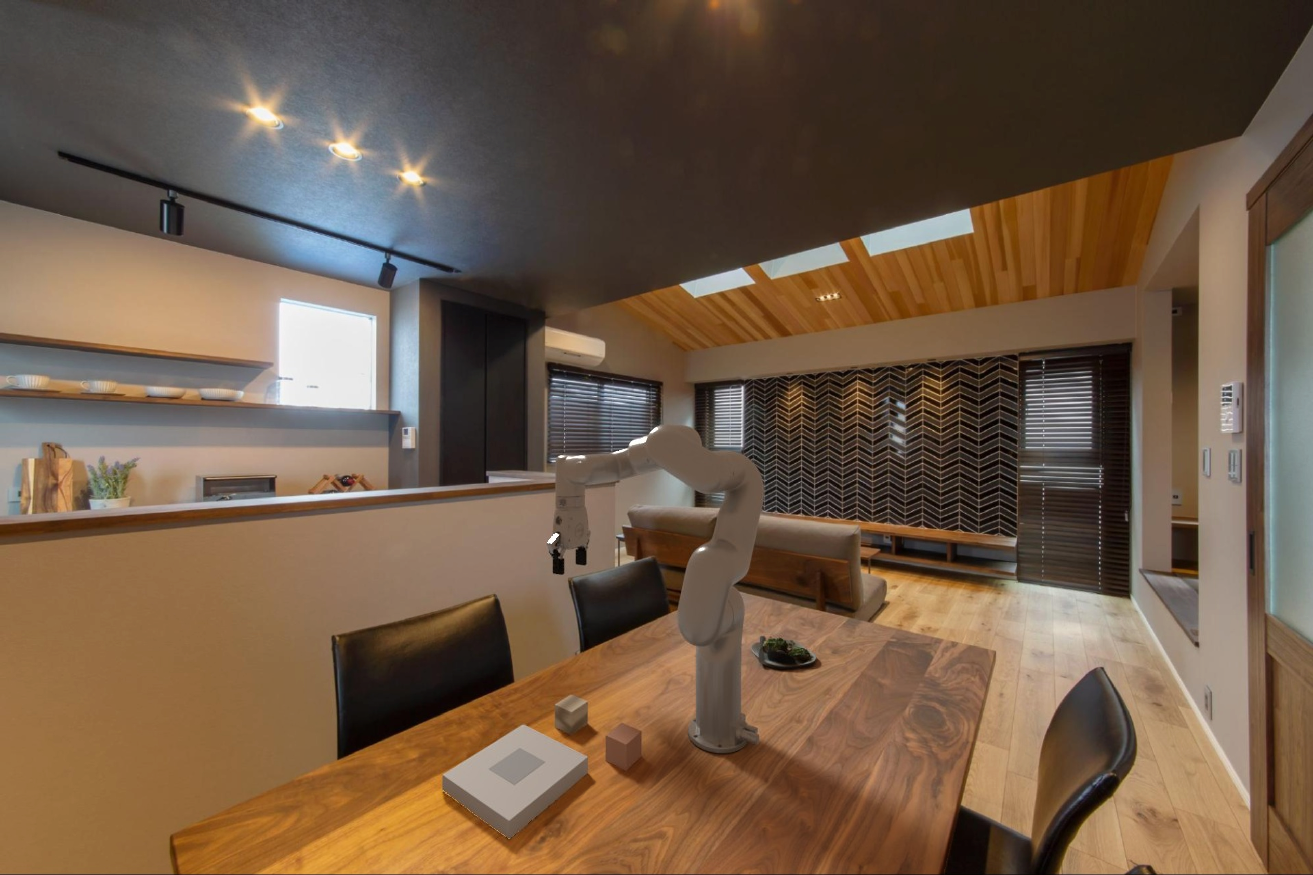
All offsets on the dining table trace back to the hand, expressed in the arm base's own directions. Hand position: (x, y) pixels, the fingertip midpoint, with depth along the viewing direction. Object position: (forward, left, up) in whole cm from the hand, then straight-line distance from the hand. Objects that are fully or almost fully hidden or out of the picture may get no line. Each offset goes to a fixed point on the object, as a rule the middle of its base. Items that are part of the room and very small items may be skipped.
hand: (570, 569), depth 121 cm
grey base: (-17, +31, -29) cm, 46 cm away
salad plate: (-40, -45, -30) cm, 67 cm away
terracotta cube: (-29, +15, -29) cm, 44 cm away
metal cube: (-13, +13, -29) cm, 35 cm away
